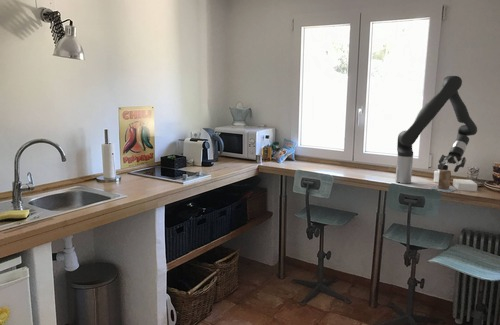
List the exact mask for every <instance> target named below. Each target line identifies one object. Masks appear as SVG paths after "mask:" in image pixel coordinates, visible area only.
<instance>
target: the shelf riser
mask: <svg viewBox="0 0 500 325" xmlns="http://www.w3.org/2000/svg"><path fill="white" fill-rule="evenodd" d="M452 187H453V188H456V189H458V190H457V191H467V192H477V191H478V184H477V183H476V182H475V181H473V180H472V179H462V178H452Z"/></svg>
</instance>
